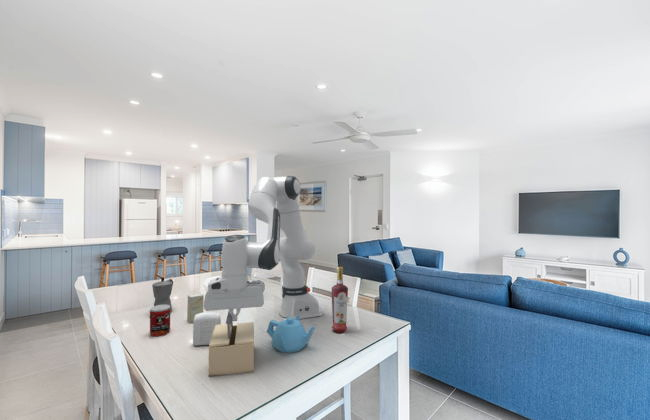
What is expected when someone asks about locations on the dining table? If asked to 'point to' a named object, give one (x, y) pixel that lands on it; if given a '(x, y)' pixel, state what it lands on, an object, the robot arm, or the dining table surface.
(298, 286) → the robot arm
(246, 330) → the carton
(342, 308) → the liquor
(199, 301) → the skincare box
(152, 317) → the canned food
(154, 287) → the coffeepot
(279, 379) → the dining table surface
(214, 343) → the far flap
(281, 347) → the teapot
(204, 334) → the photo printer
